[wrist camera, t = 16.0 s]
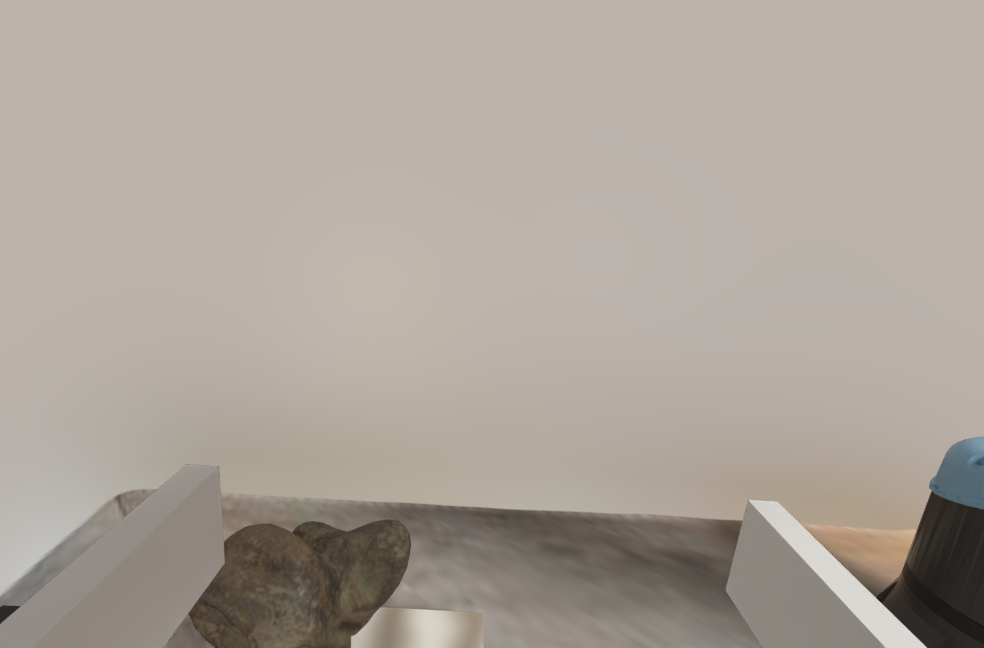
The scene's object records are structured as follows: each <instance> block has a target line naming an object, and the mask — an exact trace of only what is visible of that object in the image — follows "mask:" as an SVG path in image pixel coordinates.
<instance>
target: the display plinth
mask: <svg viewBox="0 0 984 648" xmlns="http://www.w3.org/2000/svg"><path fill="white" fill-rule="evenodd" d="M351 648H483V613H473V612H456V611H439V610H422V609H405V608H388V607H380V608H379V609H378V610H377V611H376V613H375V614H374V615H373V616H372V618H371V619H370V620H369V622H368V623H367V624H366V625H365V626H364V627H363V628H362V629H361V630H360V631H359V632H358V633H357V634H356V635H354V636H351Z"/></svg>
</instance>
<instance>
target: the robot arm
mask: <svg viewBox="0 0 984 648" xmlns="http://www.w3.org/2000/svg"><path fill="white" fill-rule="evenodd" d="M929 488H930V489H931V490H932V492H931V495H930V497H929V500H928V502H927V505H926V508H925V511H924V513H923V516H922V518H921V521H920V524H919V526H918V529H917V532H916V534H915V537H914V540H913V542H912V545H911V548H910V550H909V553H908V556H907V559H906V562H905V565H904V567H903V570H902V572H901V574H900V576H899V577H898V578H897V579H896V580H895V581H894V582H892V583H891V584H890V585H889V586H888V587H887V588H886V589H885V590H884V591H883V592H881V593H880V594H879V595H878V596H877V597H876V598H875V597H874V596H873V595H872V594H871V593H870V592H869V591H868V590H867V589H866V588H865V587H864V586H863V585H862V584H861V583H860V582H859V581H858V580H857V579H856V578H855V577H854V576H853V575H852V574H851V573H850V572H849V571H848V570H847V569H846V568H845V567H844V566H843V565H842V564H841V563H840V562H838V561H837V560H836V559H835V558H834V557H833V556H832V555H831V554H830V553H829V552H828V551H827V550H826V549H825V548H824V547H823V546H822V545H821V544H820V543H819V542H818V541H817V540H816V539H815V538H814V537H813V536H812V535H811V534H810V533H809V532H808V531H807V530H806V529H805V528H804V527H803V526H802V525H801V524H799V523H798V522H797V521H796V520H795V519H794V518H793V517H792V516H791V515H790V514H789V513H788V512H787V511H786V510H785V509H784V508H783V507H782V506H781V505H780V504H779V503H778V502H772V501H757V500H748V502H747V506H746V510H745V514H744V518H743V522H742V526H741V530H740V534H739V538H738V542H737V546H736V550H735V554H734V558H733V562H732V566H731V570H730V574H729V578H728V582H727V586H726V592H727V593H728V595H729V596H730V598H731V599H732V601H733V603H734V604H735V606H736V607H737V609H738V610H739V612H740V613H741V615H742V616H743V618H744V620H745V621H746V623H747V624H748V626H749V627H750V629H751V630H752V632H753V633H754V635H755V636H756V638H757V640H758V641H759V643H760V644H761V646H762V647H763V648H984V437H976V438H970V439H965V440H962V441H960V442H957V443H956V444H954V445H953V446H951V447H950V448H949V450H948V451H947V452H946V455H945V457H944V459H943V461H942V464H941V466H940V468H939V470H938V473H937V475H936V476H935V477H934V478H933V479H932V480H931V482H930V486H929ZM224 564H225V557H224V540H223V523H222V506H221V490H220V473H219V466H207V465H192V464H191V465H190V464H186V465H185V466H184V467H183V468H182V469H180V470H179V471H178V472H177V473H176V474H175V475H173V476H172V477H171V478H170V479H169V480H168V481H166V482H165V483H164V484H163V485H162V486H161V487H159V488H158V489H157V490H156V491H155V492H154V493H152V494H151V495H150V496H149V497H148V498H147V499H145V500H144V501H143V502H142V503H141V504H140V505H138V506H137V507H136V508H135V509H134V510H133V511H131V512H130V513H129V514H128V515H127V516H126V517H124V518H123V519H122V520H121V521H120V522H119V523H117V524H116V525H115V526H114V527H113V528H112V529H110V530H109V531H108V532H107V533H106V534H105V535H103V536H102V537H101V538H100V539H99V540H98V541H96V542H95V543H94V544H93V545H92V546H91V547H89V548H88V549H87V550H86V551H85V552H84V553H82V554H81V555H80V556H79V557H78V558H77V559H75V560H74V561H73V562H72V563H71V564H70V565H68V566H67V567H66V568H65V569H64V570H63V571H61V572H60V573H59V574H58V575H57V576H56V577H54V578H53V579H52V580H51V581H50V582H49V583H47V584H46V585H45V586H44V587H43V588H42V589H40V590H39V591H38V592H37V593H36V594H35V595H34V596H32V597H31V598H30V599H29V600H28V601H27V602H25V603H24V604H23V605H22V606H2V607H0V648H163V647H164V646H165V645H166V643H167V642H168V640H169V639H170V638H171V636H172V635H173V634H174V632H175V631H176V629H177V628H178V627H179V625H180V624H181V623H182V621H183V620H184V618H185V617H186V616H187V614H188V613H189V612H190V610H191V609H192V607H193V606H194V605H195V603H196V602H197V601H198V599H199V598H200V596H201V595H202V594H203V592H204V591H205V590H206V588H207V587H208V585H209V584H210V583H211V581H212V580H213V579H214V577H215V576H216V575H217V573H218V572H219V570H220V569H221V568H222V566H223V565H224Z"/></svg>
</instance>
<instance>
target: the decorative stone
mask: <svg viewBox="0 0 984 648" xmlns="http://www.w3.org/2000/svg"><path fill="white" fill-rule="evenodd" d="M410 548H411V541H410V534H409V532H408V530H407V529H406V527H405V526H404V525H403V524H402V523H401V522H399V521H395V520H381V521H376V522H373V523H370V524H367V525H364V526H362V527H359V528H357V529H354V530H352V531H349V532H345V531H342V530H339V529H336V528H333V527H331V526H329V525H327V524H324V523H321V522H314V521H311V522H305V523H303V524H301V525H299V526H298V527H297V528H296V529H295V530H294V531H293V532H290V531H288V530H286V529H283V528H280V527H277V526H275V525H272V524H257V525H251V526H247V527H244V528H243V529H241V530H240V531H238V532H236V533H235V534H233V535H231V536H230V537H229V538H228V539H227V540H226V541H225V542H224V557H225V564H224V565H223V566H222V568H221V569H220V570H219V572H218V573H217V575H216V576H215V577H214V579H213V580H212V581H211V583H210V584H209V585H208V587H207V588H206V590H205V591H204V592H203V594H202V595H201V596H200V598H199V599H198V601H197V602H196V603H195V605H194V606H193V607H192V609H191V610H190V612H189V613H188V614H189V616H190V618H191V620H192V623H193V625H194V627H195V629H196V630H197V631H198V632H199V633H200V634H201V635H202V636H203V637H204V638H205V639H206V640H207V641H208V642H209V643H211V644H212V645H213V646H214V647H215V648H351V636H354V635H356V634H357V633H358V632H359V631H360V630H361V629H362V628H363V627H364V626H365V625H366V624H367V623H368V622H369V620H370V619H371V618H372V616H373V615H374V614H375V613H376V611H377V610H378V609H379V608H380V607H381V606H382V605H383V604H384V603H385V602H386V601H387V600H388V599H389V598H390V596H391V595H392V594H393V592H394V591H395V590H396V588H397V587H398V585H399V584H400V582H401V579H402V577H403V575H404V573H405V571H406V569H407V564H408V559H409V555H410Z"/></svg>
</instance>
